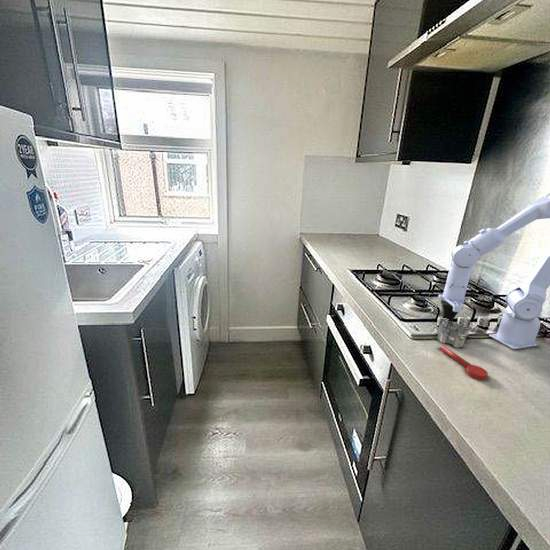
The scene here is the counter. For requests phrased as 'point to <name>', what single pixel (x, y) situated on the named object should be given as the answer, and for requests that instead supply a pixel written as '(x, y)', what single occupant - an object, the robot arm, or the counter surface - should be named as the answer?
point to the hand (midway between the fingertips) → (446, 323)
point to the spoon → (467, 365)
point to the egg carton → (452, 333)
